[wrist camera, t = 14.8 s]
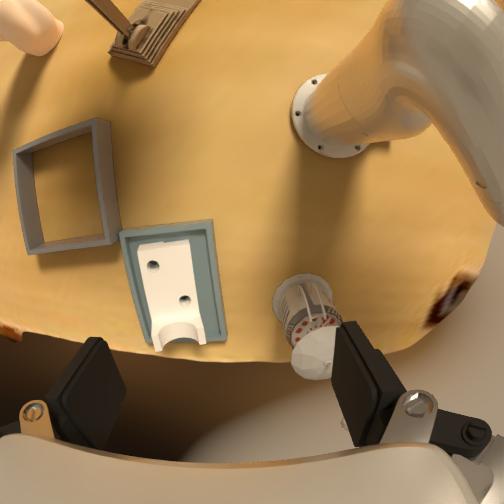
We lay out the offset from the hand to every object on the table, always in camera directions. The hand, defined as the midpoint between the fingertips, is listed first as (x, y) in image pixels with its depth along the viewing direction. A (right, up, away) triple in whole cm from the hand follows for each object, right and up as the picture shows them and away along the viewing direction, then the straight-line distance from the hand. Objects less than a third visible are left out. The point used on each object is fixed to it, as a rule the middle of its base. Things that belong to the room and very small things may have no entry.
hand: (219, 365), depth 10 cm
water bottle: (-35, +42, +18) cm, 58 cm away
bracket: (-10, 0, +31) cm, 32 cm away
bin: (-28, +14, +26) cm, 41 cm away
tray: (-10, -1, +32) cm, 33 cm away
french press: (+9, -3, +33) cm, 34 cm away
